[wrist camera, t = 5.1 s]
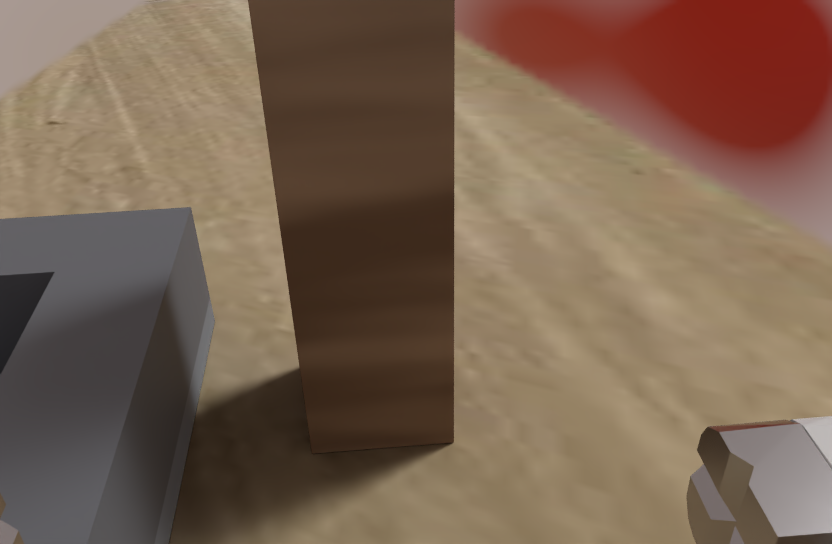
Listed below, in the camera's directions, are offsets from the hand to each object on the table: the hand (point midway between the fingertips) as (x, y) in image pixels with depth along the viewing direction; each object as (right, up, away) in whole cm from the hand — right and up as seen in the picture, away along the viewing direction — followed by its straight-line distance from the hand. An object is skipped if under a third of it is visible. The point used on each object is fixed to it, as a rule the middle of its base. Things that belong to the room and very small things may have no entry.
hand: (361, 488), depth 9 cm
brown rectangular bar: (0, -1, +15) cm, 15 cm away
